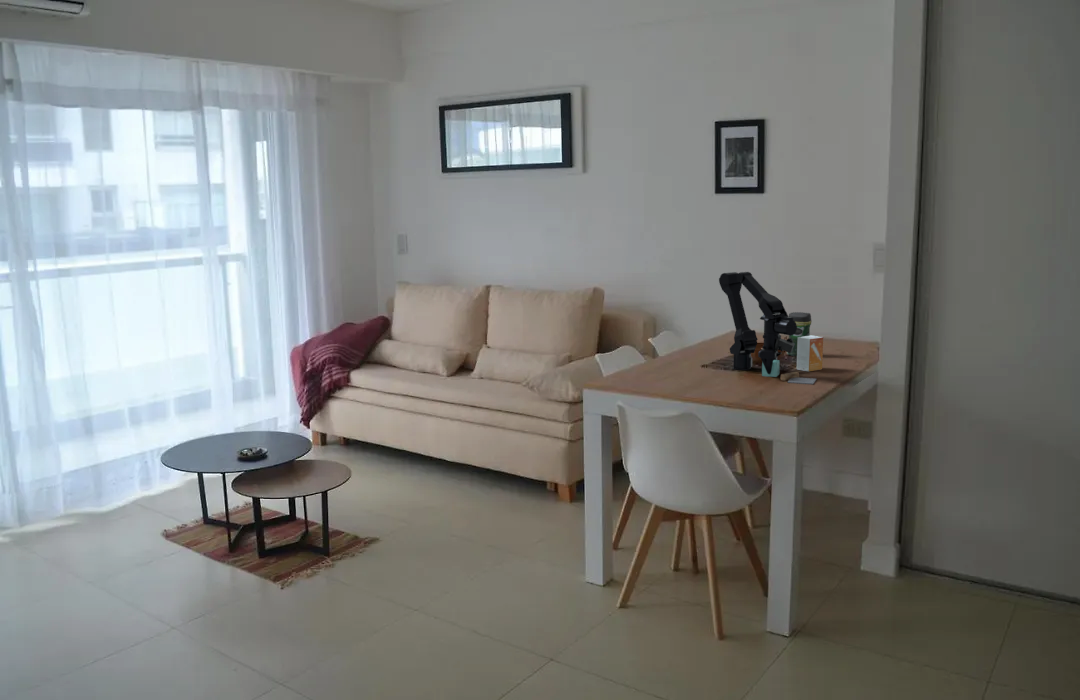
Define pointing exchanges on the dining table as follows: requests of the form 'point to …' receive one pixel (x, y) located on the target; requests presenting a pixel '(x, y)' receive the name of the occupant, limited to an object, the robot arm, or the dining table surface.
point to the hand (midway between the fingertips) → (770, 372)
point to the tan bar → (789, 375)
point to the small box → (809, 353)
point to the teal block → (774, 369)
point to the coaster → (802, 380)
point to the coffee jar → (800, 328)
